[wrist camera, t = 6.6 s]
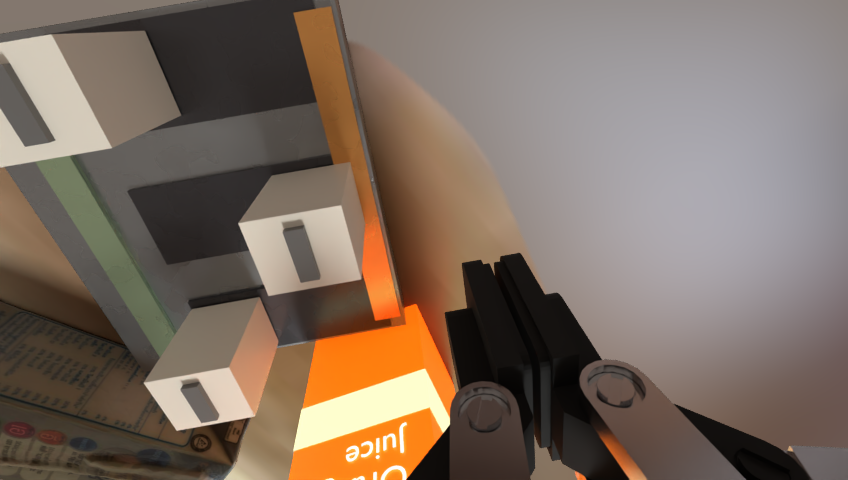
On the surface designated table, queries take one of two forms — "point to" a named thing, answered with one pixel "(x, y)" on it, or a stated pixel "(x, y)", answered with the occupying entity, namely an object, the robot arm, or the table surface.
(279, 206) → the breaker mid
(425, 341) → the orange juice
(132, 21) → the panel
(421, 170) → the table surface
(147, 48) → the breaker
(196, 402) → the breaker
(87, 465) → the beverage carton
